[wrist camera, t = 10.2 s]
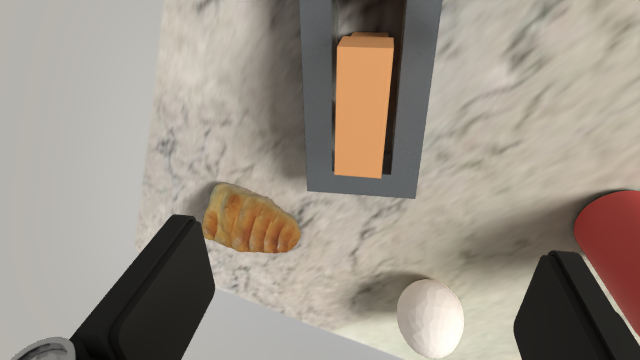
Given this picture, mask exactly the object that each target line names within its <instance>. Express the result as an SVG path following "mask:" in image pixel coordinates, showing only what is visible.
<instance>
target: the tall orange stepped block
mask: <svg viewBox="0 0 640 360" xmlns="http://www.w3.org/2000/svg"><path fill="white" fill-rule="evenodd" d="M393 51H394V41H393V38H390V37H389V33H378V32H353V33H352V35H351V36H343V37H342V39H341V41H340V43H339V44H338V46H337V79H336V126H335V174H334V175H344V176H357V177H369V178H381V174H382V164H383V154H384V143H385V133H386V123H387V113H388V102H389V92H390V82H391V72H392V61H393Z"/></svg>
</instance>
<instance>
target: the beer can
mask: <svg viewBox="0 0 640 360" xmlns="http://www.w3.org/2000/svg"><path fill="white" fill-rule="evenodd" d="M574 235H575V239H576V241H577V243H578V244H579V246H580V247H581V249H582V251H583V252H584V254H585V255H586V257H587V258H588V260H589V261H590V263H591V264H592V266H593V267H594V269H595V271H596V272H597V274H598V275H599V277H600V278H601V280H602V281H603V283H604V284H605V286H606V288H607V289H608V291H609V292H610V294H611V295H612V297H613V298H614V300H615V301H616V303H617V305H618V306H619V308H620V309H621V311H622V312H623V314H624V315H625V317H626V318H627V320H628V322H629V323H630V325H631V326H632V328H633V329H634V331H635V332H636V333H637V334H638V335H639V337H640V191H619V192H615V193H611V194H607V195H604V196H602V197H600V198H598V199H596V200H594V201H592V202H591V203H590V204H589V205H588V206H586V207H585V208H584V209H583V210H582V211H581V213H580V214H579V216H578V217H577V219H576V221H575V225H574Z"/></svg>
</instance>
